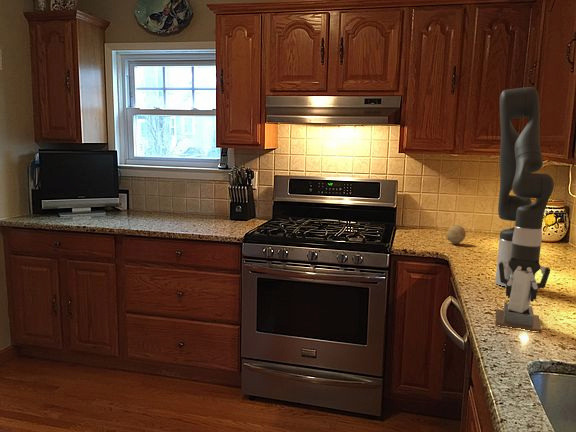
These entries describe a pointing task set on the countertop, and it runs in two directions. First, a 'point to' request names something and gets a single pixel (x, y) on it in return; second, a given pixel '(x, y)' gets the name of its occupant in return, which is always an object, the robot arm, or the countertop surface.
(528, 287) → the skincare box
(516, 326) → the collar
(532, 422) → the countertop surface
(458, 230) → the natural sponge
